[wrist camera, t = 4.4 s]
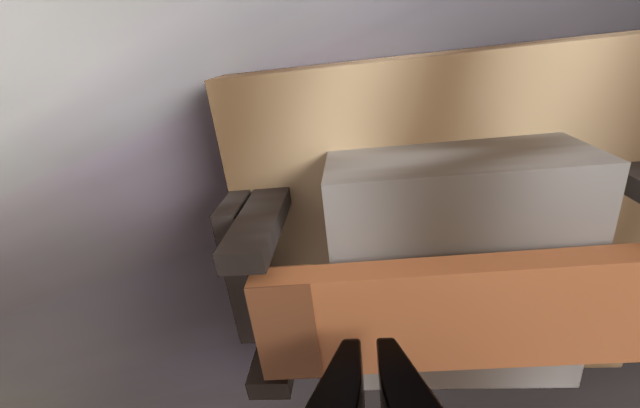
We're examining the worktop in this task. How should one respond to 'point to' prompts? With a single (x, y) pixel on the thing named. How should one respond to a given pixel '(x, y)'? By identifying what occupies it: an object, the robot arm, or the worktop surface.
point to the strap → (452, 310)
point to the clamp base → (422, 109)
